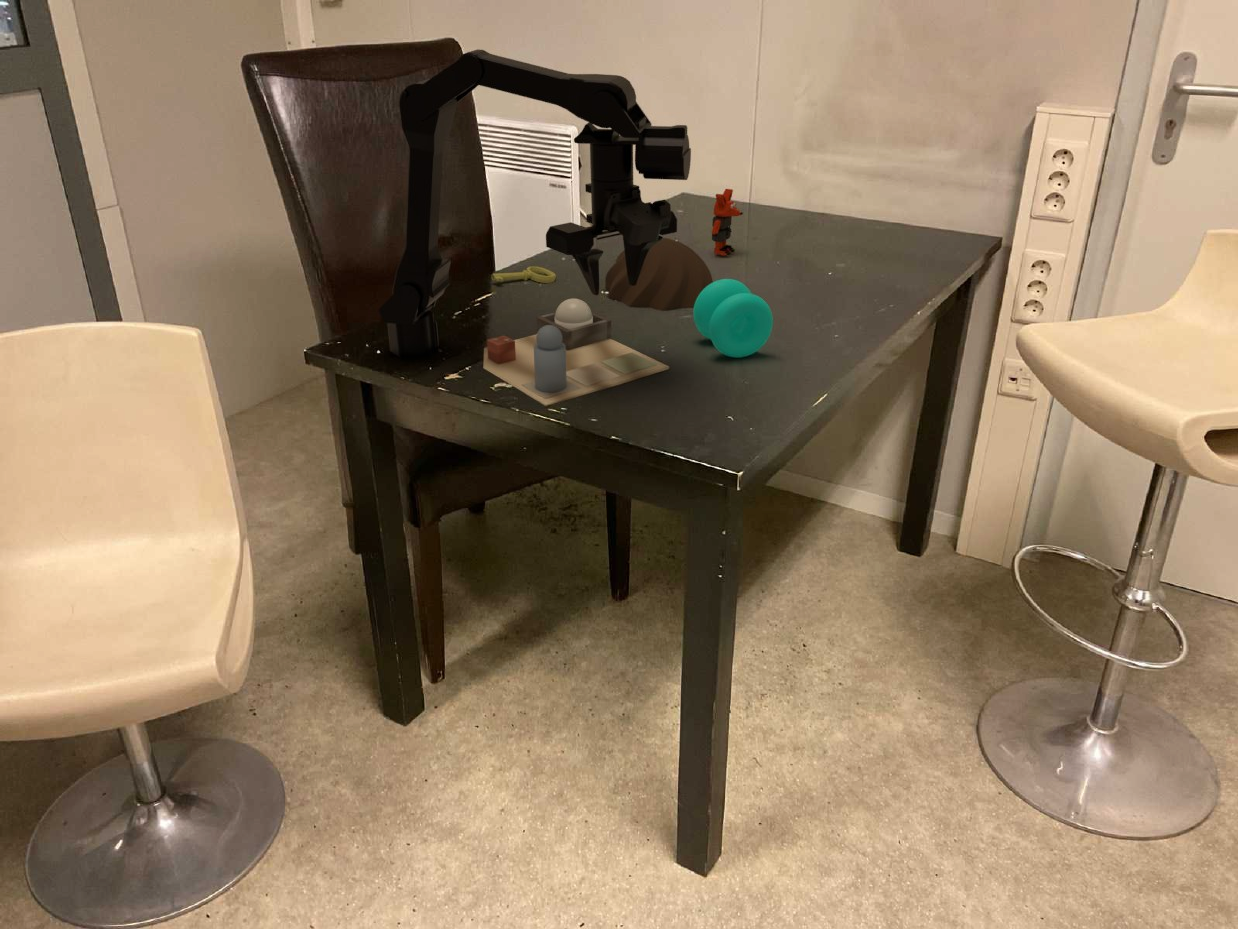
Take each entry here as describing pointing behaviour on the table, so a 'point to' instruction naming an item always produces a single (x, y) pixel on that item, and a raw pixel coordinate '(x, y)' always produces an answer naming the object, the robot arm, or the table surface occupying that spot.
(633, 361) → the game board
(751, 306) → the teal yo-yo
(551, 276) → the key
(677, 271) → the decorative dome
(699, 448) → the table surface
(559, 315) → the dome button
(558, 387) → the pawn
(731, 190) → the toy animal
